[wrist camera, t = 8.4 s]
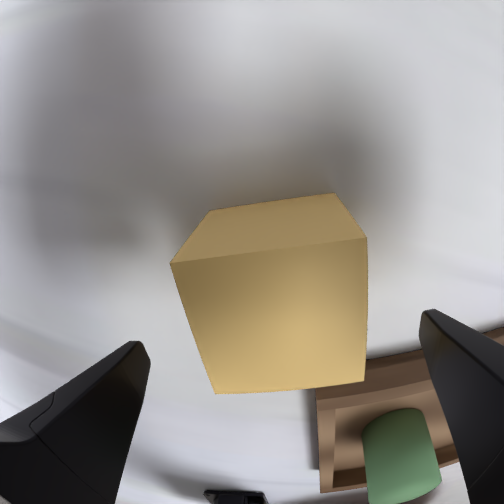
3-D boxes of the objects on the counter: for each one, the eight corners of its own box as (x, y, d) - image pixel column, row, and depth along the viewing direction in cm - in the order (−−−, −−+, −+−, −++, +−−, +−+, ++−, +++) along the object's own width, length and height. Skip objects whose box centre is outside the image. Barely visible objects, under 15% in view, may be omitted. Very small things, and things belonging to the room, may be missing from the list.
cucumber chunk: (418, 436, 18) (431, 494, 13) (360, 449, 19) (365, 510, 14) (429, 402, 16) (450, 467, 11) (362, 416, 17) (371, 488, 12)
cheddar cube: (342, 301, 15) (363, 381, 10) (234, 313, 16) (215, 394, 11) (334, 192, 13) (366, 237, 8) (210, 210, 14) (169, 263, 9)
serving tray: (507, 419, 19) (515, 436, 17) (319, 470, 22) (320, 493, 20) (559, 305, 14) (577, 323, 11) (313, 367, 17) (316, 400, 14)
